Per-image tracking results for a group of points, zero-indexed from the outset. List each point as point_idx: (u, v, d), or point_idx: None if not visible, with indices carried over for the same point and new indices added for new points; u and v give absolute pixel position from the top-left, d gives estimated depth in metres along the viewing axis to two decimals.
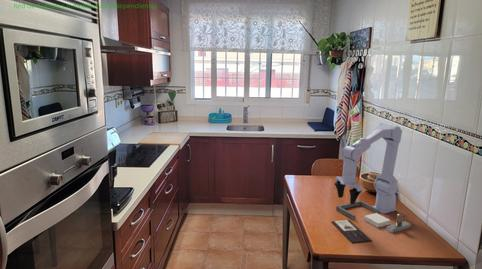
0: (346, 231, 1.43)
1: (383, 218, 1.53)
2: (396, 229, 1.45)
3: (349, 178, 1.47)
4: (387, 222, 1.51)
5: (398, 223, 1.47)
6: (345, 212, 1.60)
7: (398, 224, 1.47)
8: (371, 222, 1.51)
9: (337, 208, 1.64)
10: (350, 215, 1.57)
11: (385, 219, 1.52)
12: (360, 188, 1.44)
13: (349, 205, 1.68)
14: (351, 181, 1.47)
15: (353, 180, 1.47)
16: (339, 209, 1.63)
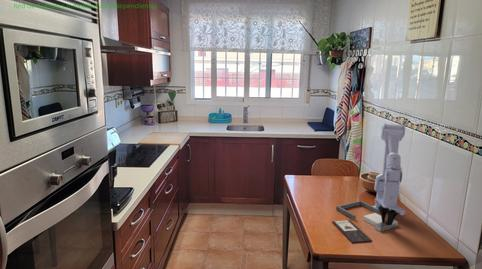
0: (346, 231, 1.43)
1: None
2: (384, 227, 1.46)
3: (391, 202, 1.43)
4: None
5: (386, 221, 1.47)
6: (345, 212, 1.60)
7: (386, 222, 1.47)
8: (370, 222, 1.52)
9: (337, 208, 1.64)
10: (350, 215, 1.57)
11: None
12: (403, 212, 1.40)
13: (349, 205, 1.68)
14: (393, 204, 1.44)
15: (395, 203, 1.44)
16: (339, 209, 1.63)
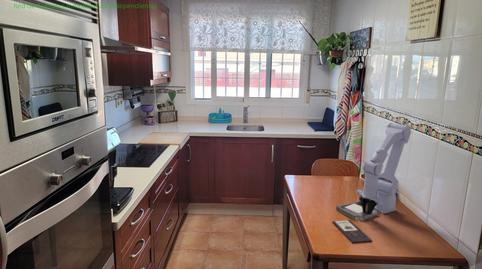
0: (346, 231, 1.43)
1: (361, 208, 1.63)
2: (365, 217, 1.55)
3: (370, 192, 1.53)
4: None
5: (367, 211, 1.57)
6: (345, 212, 1.60)
7: None
8: (351, 212, 1.61)
9: (337, 208, 1.64)
10: (350, 215, 1.57)
11: None
12: (381, 202, 1.50)
13: None
14: (373, 195, 1.53)
15: (374, 194, 1.54)
16: (339, 209, 1.63)
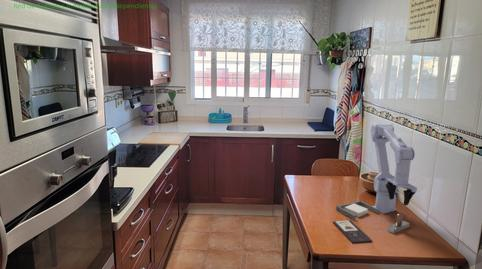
0: (347, 231, 1.43)
1: (361, 208, 1.63)
2: (397, 229, 1.45)
3: (403, 179, 1.46)
4: (366, 211, 1.61)
5: (398, 223, 1.46)
6: (345, 212, 1.60)
7: (398, 224, 1.46)
8: (352, 212, 1.61)
9: (337, 208, 1.64)
10: (350, 215, 1.57)
11: (363, 208, 1.62)
12: (415, 189, 1.43)
13: None
14: (405, 182, 1.46)
15: (407, 181, 1.47)
16: (339, 209, 1.63)
